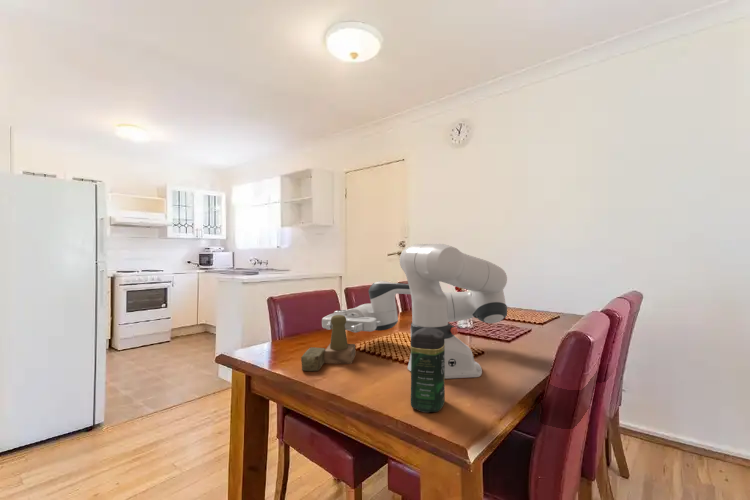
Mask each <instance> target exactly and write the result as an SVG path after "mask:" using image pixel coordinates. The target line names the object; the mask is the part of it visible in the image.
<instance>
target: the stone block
mask: <svg viewBox="0 0 750 500" xmlns="http://www.w3.org/2000/svg"><path fill="white" fill-rule="evenodd" d="M325 350H326V348H325V347H308V349H307V350H306V351H305V352H304V353H303V355H302V356H301V357H300V358H301V359H300V360H301V370H302V371H305V372H319V370H320V369H321V368H322V366H323V365H324V364H325V363H324V351H325Z"/></svg>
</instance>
